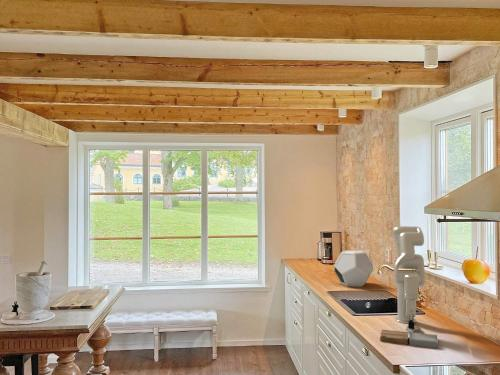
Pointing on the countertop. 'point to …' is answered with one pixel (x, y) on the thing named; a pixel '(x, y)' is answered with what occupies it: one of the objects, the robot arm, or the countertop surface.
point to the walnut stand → (394, 337)
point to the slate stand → (423, 340)
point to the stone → (415, 330)
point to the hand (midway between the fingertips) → (411, 327)
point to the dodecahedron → (353, 268)
